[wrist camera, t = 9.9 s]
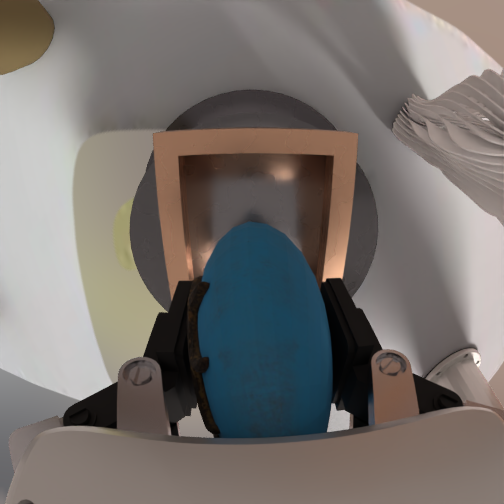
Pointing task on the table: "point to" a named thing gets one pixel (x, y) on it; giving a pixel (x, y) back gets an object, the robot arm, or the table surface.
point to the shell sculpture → (462, 137)
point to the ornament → (259, 339)
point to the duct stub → (252, 190)
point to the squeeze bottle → (23, 33)
